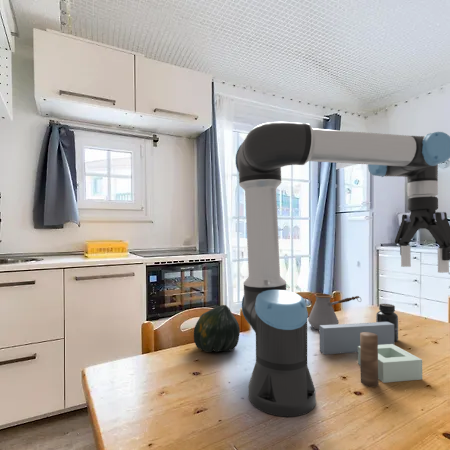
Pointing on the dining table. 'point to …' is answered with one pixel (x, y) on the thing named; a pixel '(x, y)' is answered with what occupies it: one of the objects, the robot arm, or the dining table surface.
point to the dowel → (369, 359)
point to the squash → (217, 330)
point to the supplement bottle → (388, 317)
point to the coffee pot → (325, 311)
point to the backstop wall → (352, 336)
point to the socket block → (396, 364)
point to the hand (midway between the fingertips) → (423, 269)
